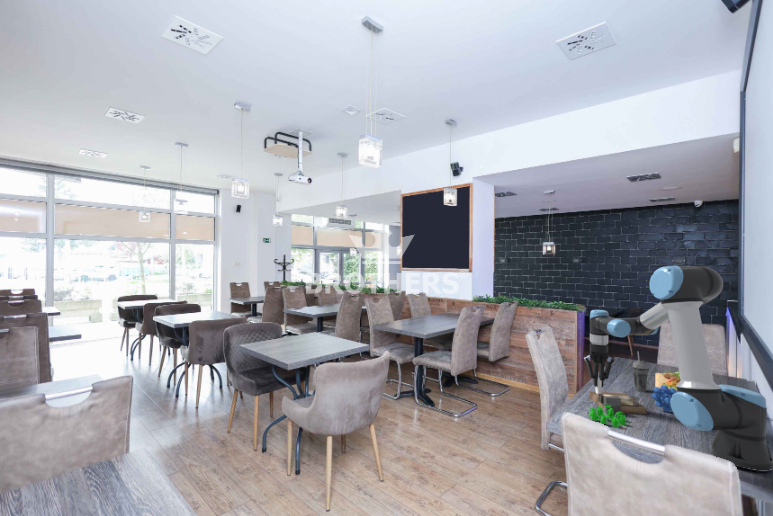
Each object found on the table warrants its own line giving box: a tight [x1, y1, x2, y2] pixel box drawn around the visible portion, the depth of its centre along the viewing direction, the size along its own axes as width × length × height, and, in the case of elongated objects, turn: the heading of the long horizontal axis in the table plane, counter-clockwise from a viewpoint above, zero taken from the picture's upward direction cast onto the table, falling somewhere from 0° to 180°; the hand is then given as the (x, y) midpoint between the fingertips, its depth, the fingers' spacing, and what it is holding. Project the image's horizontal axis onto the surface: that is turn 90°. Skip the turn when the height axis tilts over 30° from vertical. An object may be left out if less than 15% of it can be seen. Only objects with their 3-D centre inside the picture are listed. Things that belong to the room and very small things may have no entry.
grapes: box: [651, 385, 677, 413], centre depth 163 cm, size 12×7×12 cm, turn 58°
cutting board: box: [654, 371, 681, 391], centre depth 197 cm, size 35×23×8 cm
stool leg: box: [598, 394, 640, 406], centre depth 166 cm, size 16×4×3 cm, turn 79°
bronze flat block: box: [589, 391, 647, 415], centre depth 171 cm, size 19×17×7 cm
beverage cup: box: [631, 351, 650, 393], centre depth 191 cm, size 7×7×20 cm
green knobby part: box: [587, 405, 629, 429], centre depth 155 cm, size 15×15×7 cm
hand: (598, 393), depth 174 cm, fingers closed
